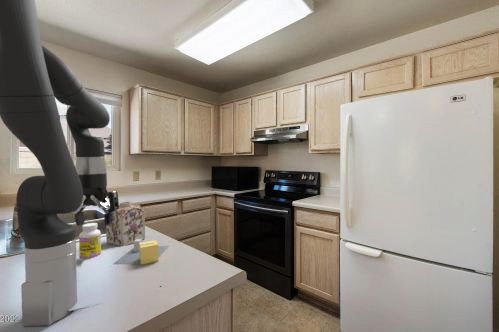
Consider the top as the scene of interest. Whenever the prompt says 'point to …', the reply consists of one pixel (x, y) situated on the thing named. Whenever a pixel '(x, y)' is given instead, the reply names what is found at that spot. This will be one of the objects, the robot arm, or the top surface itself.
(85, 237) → the supplement bottle
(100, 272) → the top surface
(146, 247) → the yellow cube
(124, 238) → the decorative jar
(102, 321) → the top surface
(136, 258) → the plate
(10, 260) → the top surface
